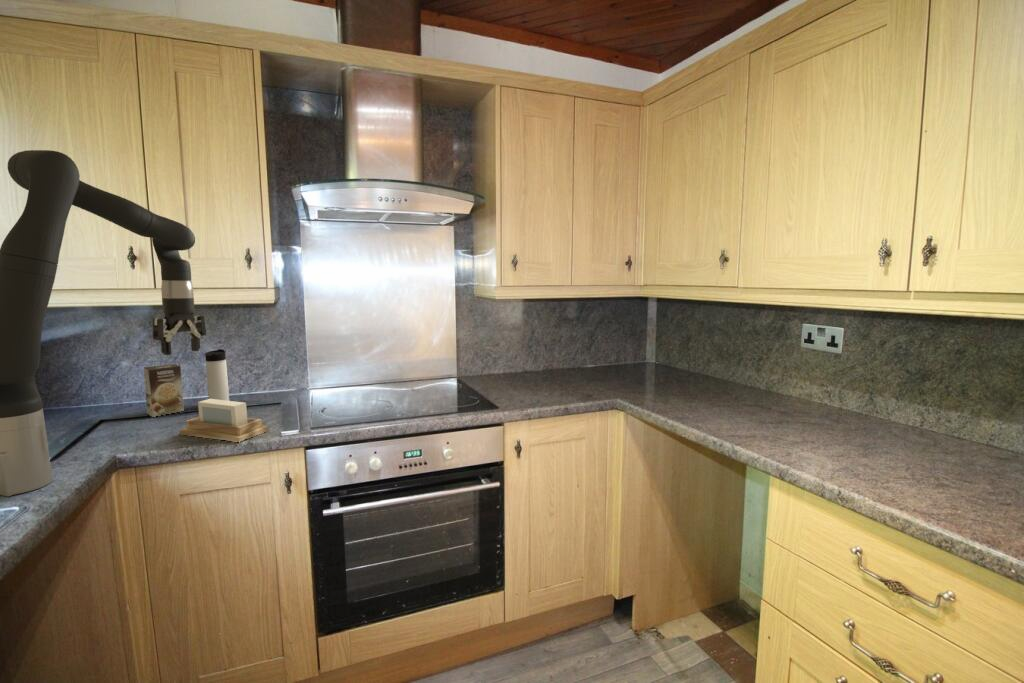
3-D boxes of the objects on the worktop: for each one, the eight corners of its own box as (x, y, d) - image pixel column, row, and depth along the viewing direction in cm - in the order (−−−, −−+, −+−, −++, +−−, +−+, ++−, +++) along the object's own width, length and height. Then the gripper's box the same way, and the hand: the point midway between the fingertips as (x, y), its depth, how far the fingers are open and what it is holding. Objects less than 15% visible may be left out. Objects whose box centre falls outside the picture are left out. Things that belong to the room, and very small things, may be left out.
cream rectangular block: (236, 433, 142) (234, 406, 140) (200, 428, 146) (197, 402, 145) (248, 428, 145) (246, 402, 144) (212, 423, 150) (210, 398, 149)
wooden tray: (239, 443, 138) (238, 429, 137) (179, 435, 144) (178, 422, 143) (268, 431, 148) (267, 418, 148) (212, 424, 154) (211, 411, 154)
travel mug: (234, 403, 178) (229, 349, 175) (221, 408, 172) (217, 352, 169) (218, 402, 179) (213, 348, 176) (205, 407, 172) (200, 351, 169)
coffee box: (153, 417, 160) (148, 370, 158) (147, 414, 164) (142, 367, 162) (185, 411, 167) (180, 365, 165) (178, 408, 171) (174, 363, 169)
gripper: (162, 297, 131) (167, 357, 133) (210, 296, 145) (213, 350, 147) (142, 296, 133) (147, 355, 136) (191, 295, 147) (194, 348, 149)
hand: (181, 352), depth 141 cm, fingers open, 8 cm apart
